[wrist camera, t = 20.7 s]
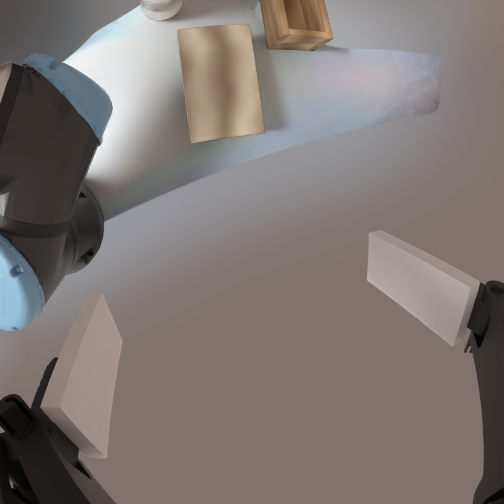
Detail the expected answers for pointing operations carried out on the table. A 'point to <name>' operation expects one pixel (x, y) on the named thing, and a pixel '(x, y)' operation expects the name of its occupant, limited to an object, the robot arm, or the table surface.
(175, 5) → the plastic bottle
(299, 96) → the table surface
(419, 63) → the table surface
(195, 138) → the lid
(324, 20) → the toolbox
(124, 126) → the table surface
